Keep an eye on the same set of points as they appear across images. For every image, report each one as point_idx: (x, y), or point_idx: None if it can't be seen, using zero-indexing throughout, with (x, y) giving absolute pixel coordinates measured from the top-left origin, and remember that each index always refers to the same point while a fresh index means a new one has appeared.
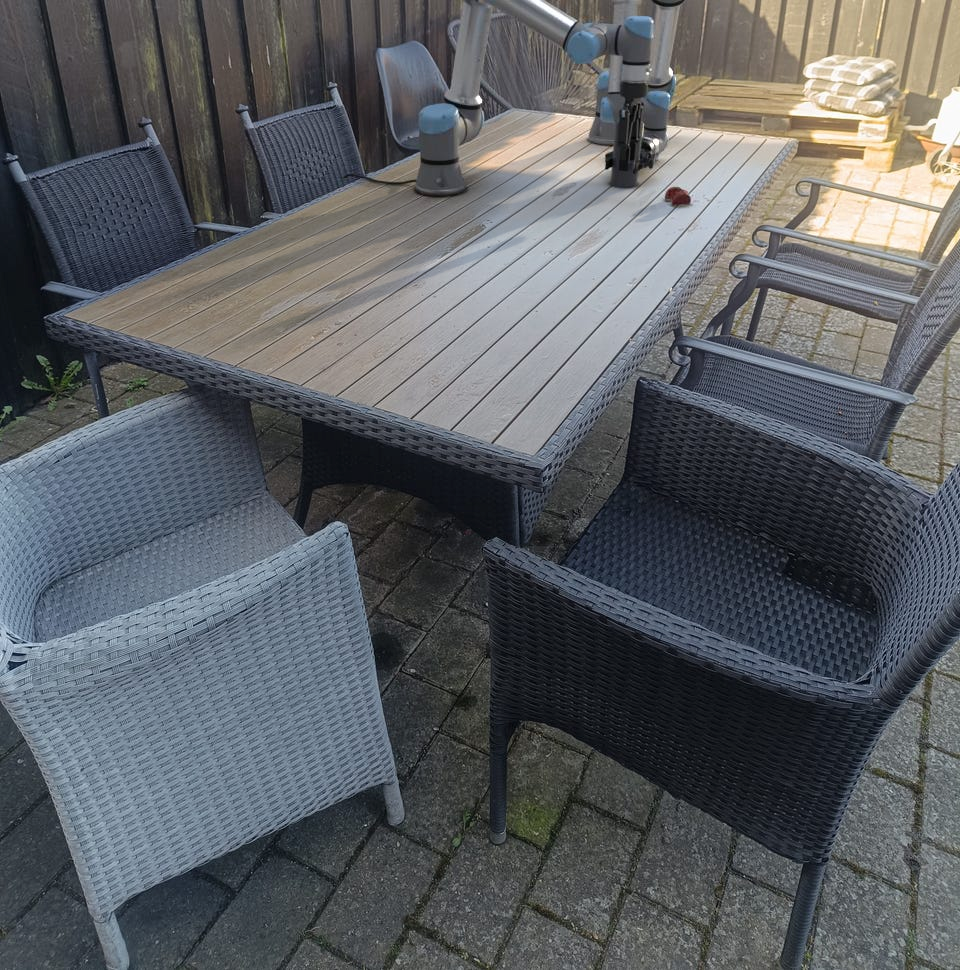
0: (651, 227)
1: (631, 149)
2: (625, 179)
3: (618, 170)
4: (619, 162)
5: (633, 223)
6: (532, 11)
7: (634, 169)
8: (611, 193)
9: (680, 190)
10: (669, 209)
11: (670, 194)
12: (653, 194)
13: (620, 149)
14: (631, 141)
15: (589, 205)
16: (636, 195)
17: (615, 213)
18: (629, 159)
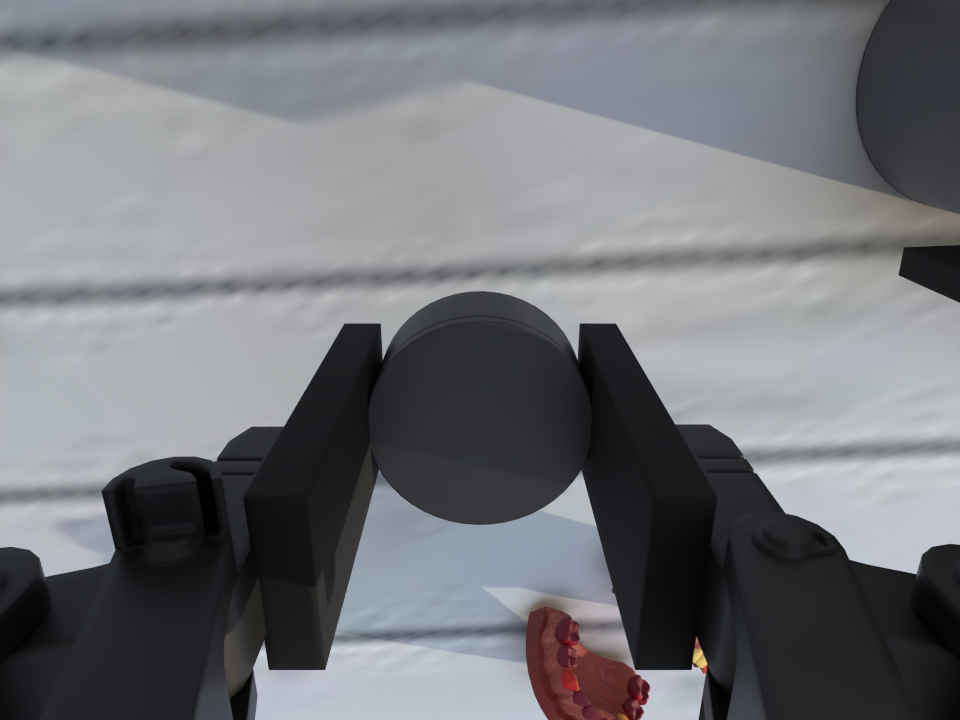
0: None
1: (616, 525)
2: (907, 142)
3: None
4: (319, 367)
5: (29, 523)
6: None
7: (927, 274)
8: (631, 91)
9: (587, 713)
10: (450, 612)
11: None
12: (749, 421)
13: (262, 467)
14: (715, 588)
15: (172, 53)
16: (667, 316)
17: (132, 343)
18: (585, 422)
